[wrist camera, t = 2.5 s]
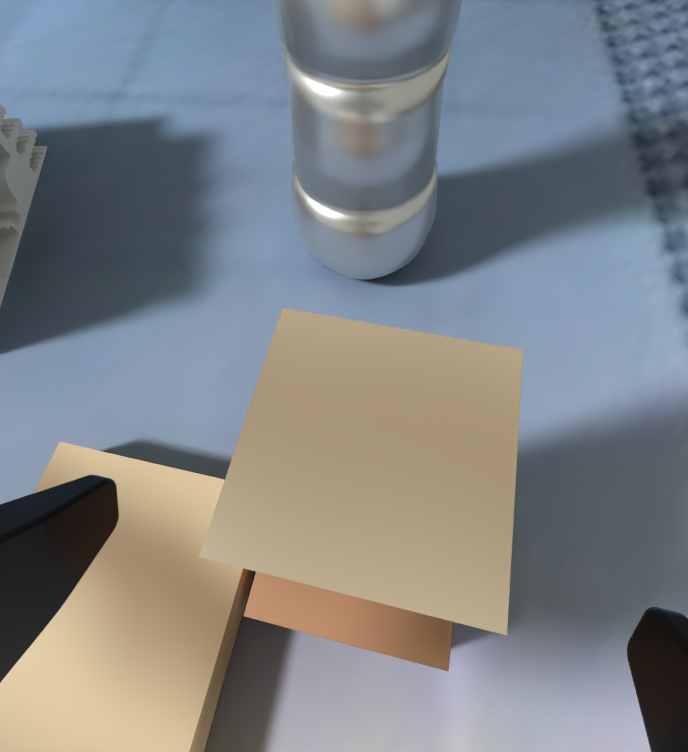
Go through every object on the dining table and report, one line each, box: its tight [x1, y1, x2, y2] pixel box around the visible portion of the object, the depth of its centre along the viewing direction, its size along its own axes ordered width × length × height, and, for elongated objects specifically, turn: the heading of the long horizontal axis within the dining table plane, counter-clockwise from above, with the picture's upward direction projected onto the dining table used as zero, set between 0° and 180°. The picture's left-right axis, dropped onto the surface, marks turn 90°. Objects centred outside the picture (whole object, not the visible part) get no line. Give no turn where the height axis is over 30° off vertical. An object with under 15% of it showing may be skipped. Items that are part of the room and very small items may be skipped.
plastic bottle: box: [272, 0, 462, 279], centre depth 12 cm, size 6×7×20 cm
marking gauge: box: [199, 308, 523, 671], centre depth 10 cm, size 6×6×13 cm
